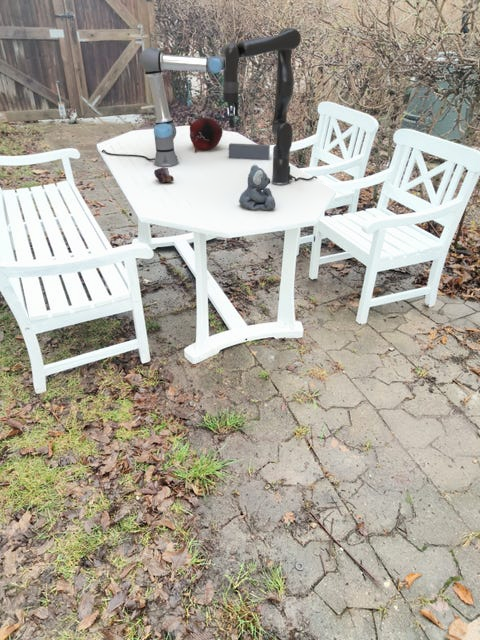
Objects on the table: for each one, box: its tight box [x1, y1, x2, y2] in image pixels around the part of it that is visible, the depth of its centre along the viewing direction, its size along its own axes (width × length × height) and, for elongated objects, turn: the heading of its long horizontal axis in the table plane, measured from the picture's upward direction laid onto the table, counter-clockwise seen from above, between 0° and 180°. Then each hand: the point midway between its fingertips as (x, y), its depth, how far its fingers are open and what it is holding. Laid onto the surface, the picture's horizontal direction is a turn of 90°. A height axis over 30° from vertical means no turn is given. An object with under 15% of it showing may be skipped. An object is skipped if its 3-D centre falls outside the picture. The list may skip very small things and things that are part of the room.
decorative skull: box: [187, 117, 224, 153], centre depth 321 cm, size 21×24×25 cm
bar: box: [228, 142, 271, 161], centre depth 302 cm, size 27×4×9 cm, turn 78°
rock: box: [153, 167, 175, 184], centre depth 260 cm, size 12×9×10 cm
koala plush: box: [238, 164, 276, 211], centre depth 224 cm, size 17×18×20 cm
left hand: (233, 117), depth 292 cm, fingers open, 13 cm apart
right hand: (231, 125), depth 233 cm, fingers open, 8 cm apart
